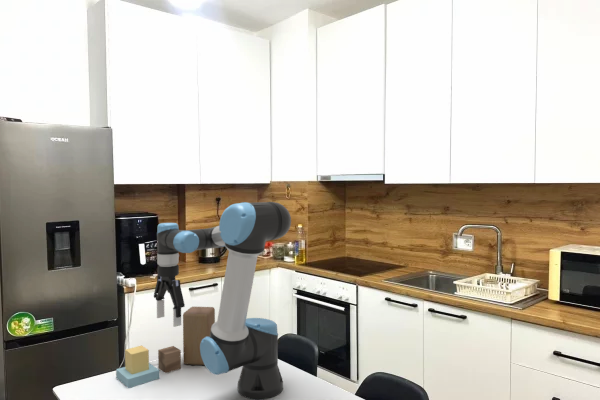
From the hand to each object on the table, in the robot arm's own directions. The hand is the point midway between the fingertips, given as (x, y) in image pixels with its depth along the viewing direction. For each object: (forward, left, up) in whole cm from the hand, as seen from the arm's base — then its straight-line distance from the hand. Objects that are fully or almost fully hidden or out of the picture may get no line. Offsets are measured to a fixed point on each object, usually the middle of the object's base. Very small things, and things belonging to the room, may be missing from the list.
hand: (168, 321), depth 162 cm
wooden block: (-1, -12, -18) cm, 22 cm away
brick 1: (0, +12, -15) cm, 19 cm away
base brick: (0, +12, -18) cm, 21 cm away
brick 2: (0, 0, -18) cm, 18 cm away
